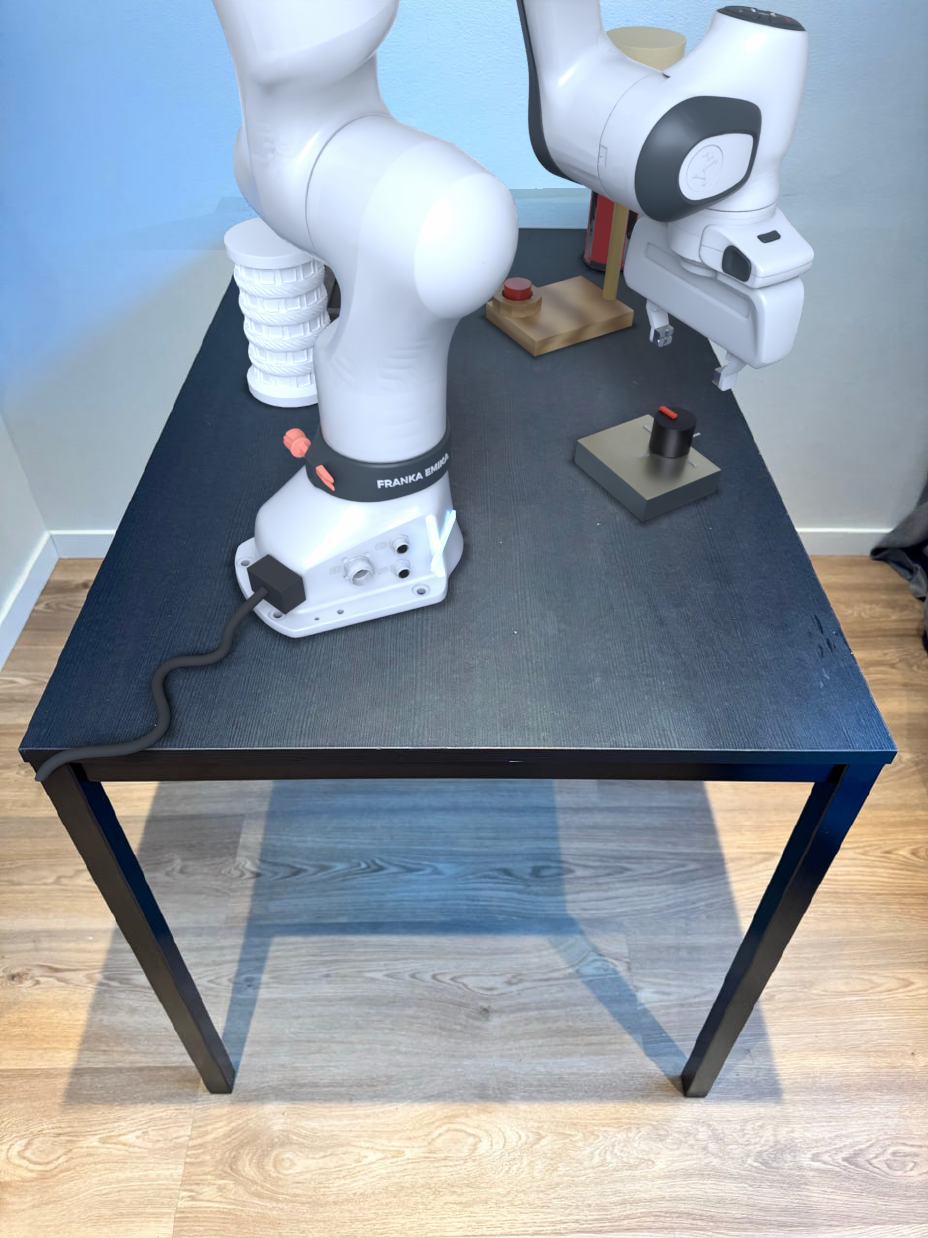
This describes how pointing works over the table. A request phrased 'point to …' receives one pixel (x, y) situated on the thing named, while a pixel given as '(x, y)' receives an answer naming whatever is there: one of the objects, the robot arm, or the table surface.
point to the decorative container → (278, 312)
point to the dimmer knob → (672, 432)
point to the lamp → (658, 53)
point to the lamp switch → (517, 289)
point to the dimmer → (644, 470)
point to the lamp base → (558, 315)
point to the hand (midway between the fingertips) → (690, 363)
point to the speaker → (604, 232)
